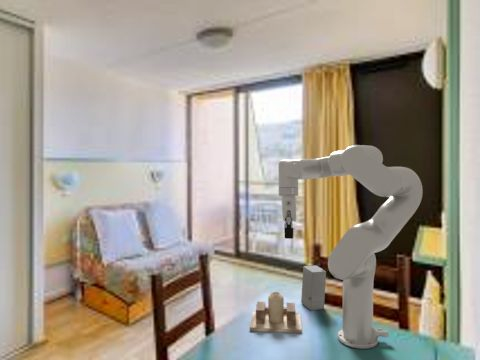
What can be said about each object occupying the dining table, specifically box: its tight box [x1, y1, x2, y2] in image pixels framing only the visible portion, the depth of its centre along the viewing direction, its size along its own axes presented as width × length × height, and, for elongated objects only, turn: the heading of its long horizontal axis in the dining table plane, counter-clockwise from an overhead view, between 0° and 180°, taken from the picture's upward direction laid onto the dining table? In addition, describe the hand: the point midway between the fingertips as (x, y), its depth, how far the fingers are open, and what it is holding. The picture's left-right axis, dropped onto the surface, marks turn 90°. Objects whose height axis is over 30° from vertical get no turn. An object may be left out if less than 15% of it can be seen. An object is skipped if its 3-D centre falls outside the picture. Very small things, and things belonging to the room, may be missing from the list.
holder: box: [249, 301, 303, 334], centre depth 132 cm, size 18×14×6 cm
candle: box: [267, 291, 285, 323], centre depth 131 cm, size 6×6×10 cm
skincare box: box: [300, 264, 327, 311], centre depth 147 cm, size 8×7×16 cm
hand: (288, 235), depth 140 cm, fingers open, 9 cm apart
